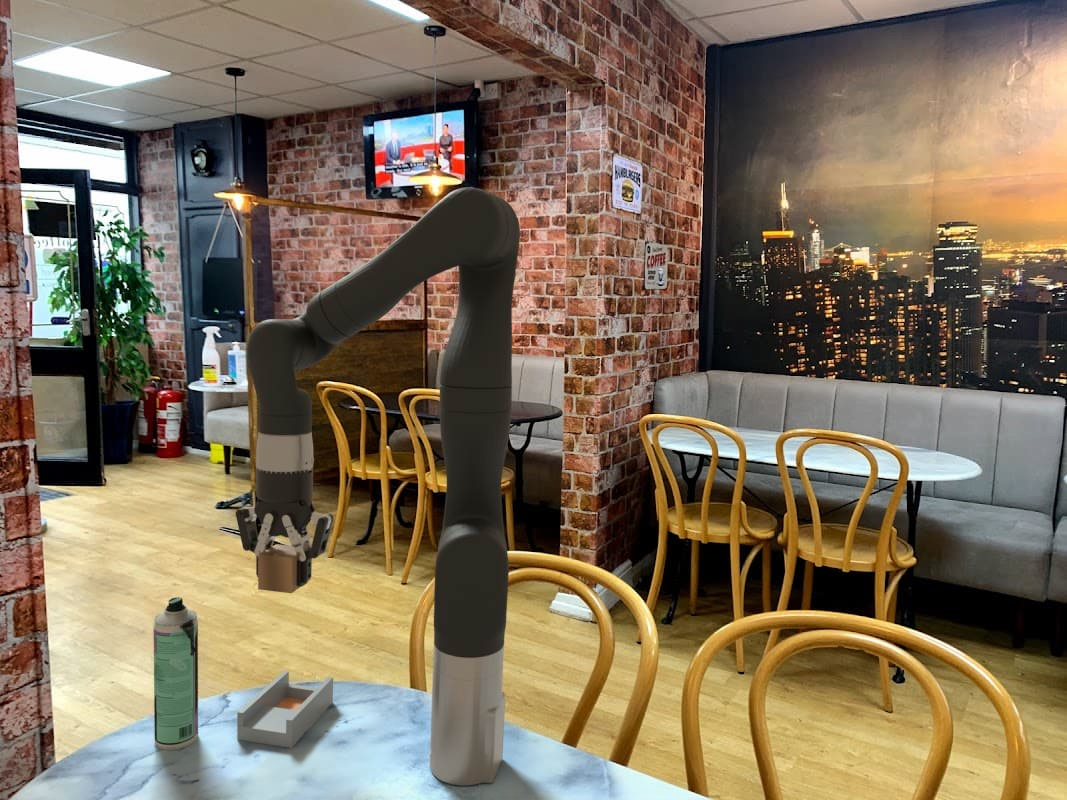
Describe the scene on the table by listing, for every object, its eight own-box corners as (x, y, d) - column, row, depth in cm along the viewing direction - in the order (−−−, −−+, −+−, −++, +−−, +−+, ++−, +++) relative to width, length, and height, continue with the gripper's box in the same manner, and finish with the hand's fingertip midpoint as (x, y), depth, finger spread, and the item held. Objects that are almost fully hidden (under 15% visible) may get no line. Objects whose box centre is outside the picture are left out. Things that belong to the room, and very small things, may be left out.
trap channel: (332, 702, 120) (333, 677, 120) (291, 748, 107) (291, 720, 107) (283, 695, 121) (284, 670, 121) (237, 739, 109) (237, 712, 108)
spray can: (205, 730, 111) (205, 593, 108) (184, 751, 105) (184, 608, 103) (168, 726, 111) (167, 590, 109) (146, 747, 106) (144, 605, 103)
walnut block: (308, 547, 112) (292, 558, 107) (308, 581, 112) (291, 593, 108) (276, 544, 113) (258, 554, 108) (276, 577, 113) (258, 589, 108)
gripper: (222, 464, 106) (222, 586, 108) (321, 473, 104) (319, 597, 105) (252, 455, 113) (251, 569, 115) (345, 463, 111) (342, 579, 113)
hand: (283, 582), depth 110 cm, fingers closed on walnut block, 5 cm apart
